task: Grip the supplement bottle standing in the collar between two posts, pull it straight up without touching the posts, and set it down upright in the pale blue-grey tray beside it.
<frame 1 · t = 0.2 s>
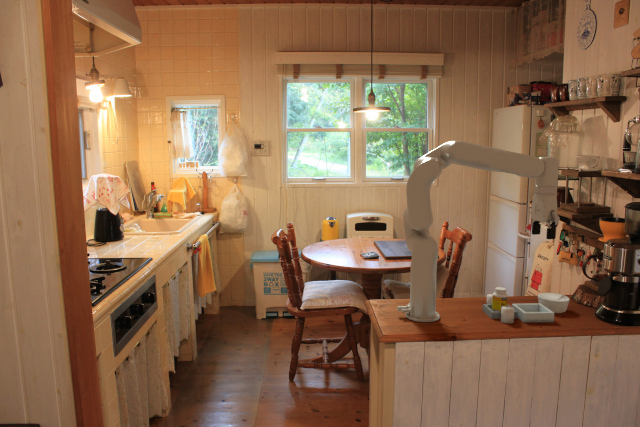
hand: (543, 236, 179), 30 cm above the countertop, tool pointing down, fingers open, 9 cm apart
supplement bottle: (499, 314, 184), resting in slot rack
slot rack: (499, 314, 184), on the countertop
ramekin: (552, 310, 190), on the countertop
tray: (532, 317, 181), on the countertop
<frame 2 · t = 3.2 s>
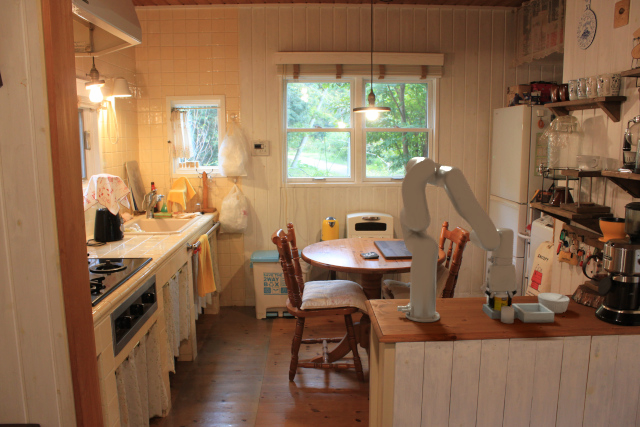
hand: (499, 306, 184), 3 cm above the countertop, tool pointing down, fingers closed on supplement bottle, 5 cm apart
supplement bottle: (499, 314, 184), resting in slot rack, touching gripper
everything else where it was.
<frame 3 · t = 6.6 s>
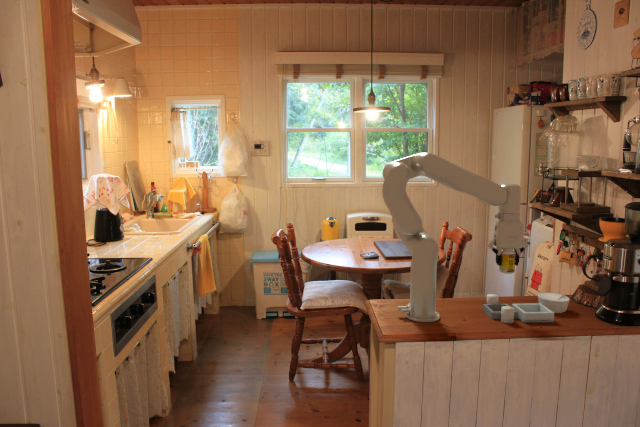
hand: (507, 264, 181), 20 cm above the countertop, tool pointing down, fingers closed on supplement bottle, 5 cm apart
supplement bottle: (506, 272, 182), point 16 cm above the countertop, touching gripper
everything else where it was.
when the fingers open (5 cm above the countertop, at t = 10.3 s): supplement bottle drops 1 cm, resting on tray.
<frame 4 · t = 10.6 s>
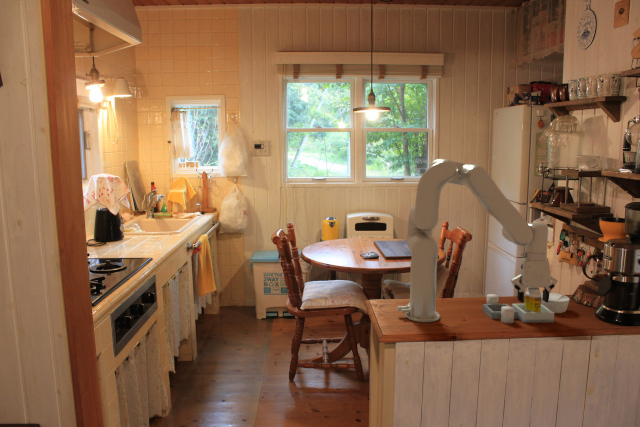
hand: (532, 301, 180), 6 cm above the countertop, tool pointing down, fingers open, 8 cm apart
supplement bottle: (532, 315, 181), point 1 cm above the countertop, touching tray
everything else where it was.
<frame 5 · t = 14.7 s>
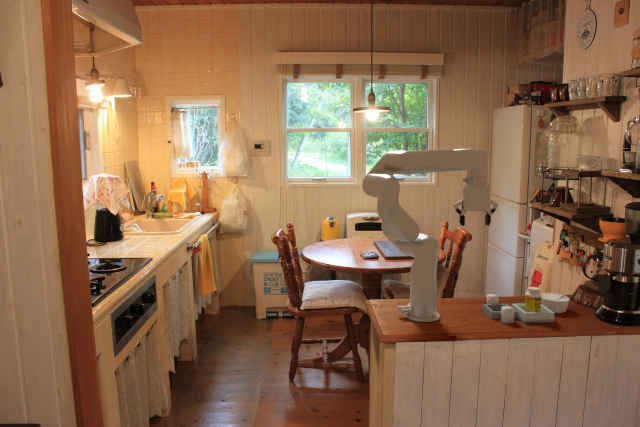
hand: (474, 225, 188), 33 cm above the countertop, tool pointing down, fingers open, 9 cm apart
nothing on the countertop moved.
at the end: supplement bottle 0.1 cm off-centre on the tray, point 0.8 cm above the tray's base; supplement bottle tilted 0°; the gripper is holding nothing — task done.
